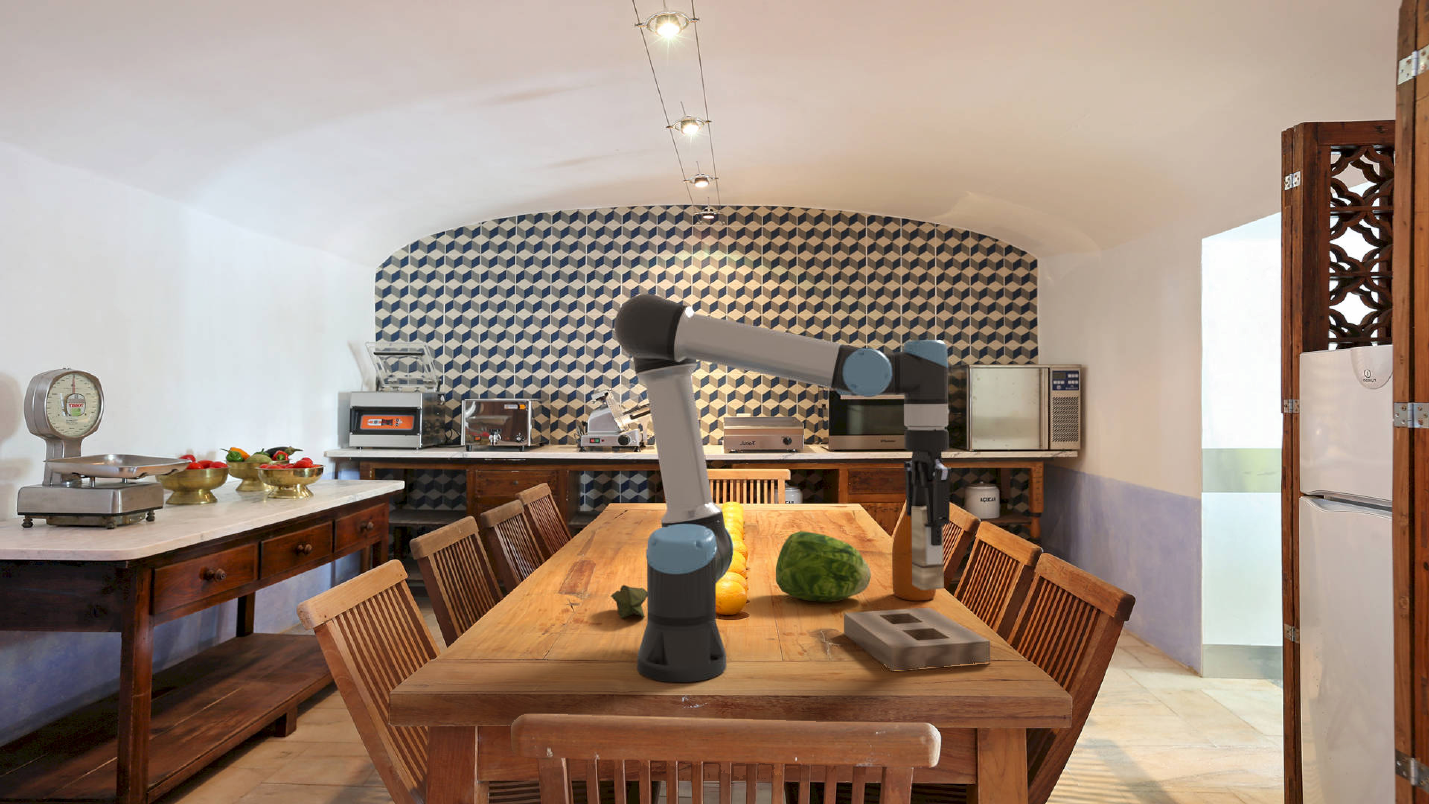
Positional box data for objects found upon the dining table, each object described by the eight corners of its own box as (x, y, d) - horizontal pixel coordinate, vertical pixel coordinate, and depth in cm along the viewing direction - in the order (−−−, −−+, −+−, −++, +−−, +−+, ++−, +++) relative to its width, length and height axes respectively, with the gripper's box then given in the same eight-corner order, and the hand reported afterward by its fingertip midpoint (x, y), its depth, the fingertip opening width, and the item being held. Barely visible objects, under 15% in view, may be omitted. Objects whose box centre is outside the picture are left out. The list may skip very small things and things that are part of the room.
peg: (922, 590, 142) (921, 509, 142) (911, 584, 146) (911, 506, 146) (944, 588, 143) (943, 508, 143) (932, 583, 147) (932, 505, 147)
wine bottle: (937, 603, 181) (938, 467, 180) (892, 601, 183) (892, 466, 182) (935, 592, 191) (935, 463, 190) (891, 590, 193) (892, 462, 192)
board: (892, 672, 137) (892, 648, 137) (843, 633, 159) (844, 613, 159) (990, 664, 141) (990, 641, 141) (929, 627, 163) (929, 607, 163)
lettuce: (867, 623, 175) (887, 554, 177) (774, 592, 175) (795, 523, 177) (850, 613, 191) (869, 550, 193) (765, 585, 191) (785, 522, 193)
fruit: (667, 614, 173) (667, 582, 173) (633, 628, 163) (633, 595, 163) (623, 606, 179) (623, 576, 179) (588, 620, 168) (588, 588, 168)
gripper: (971, 430, 137) (972, 569, 137) (923, 425, 153) (924, 550, 154) (929, 431, 135) (930, 572, 136) (886, 426, 152) (887, 552, 152)
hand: (927, 560), depth 145 cm, fingers closed on peg, 4 cm apart
